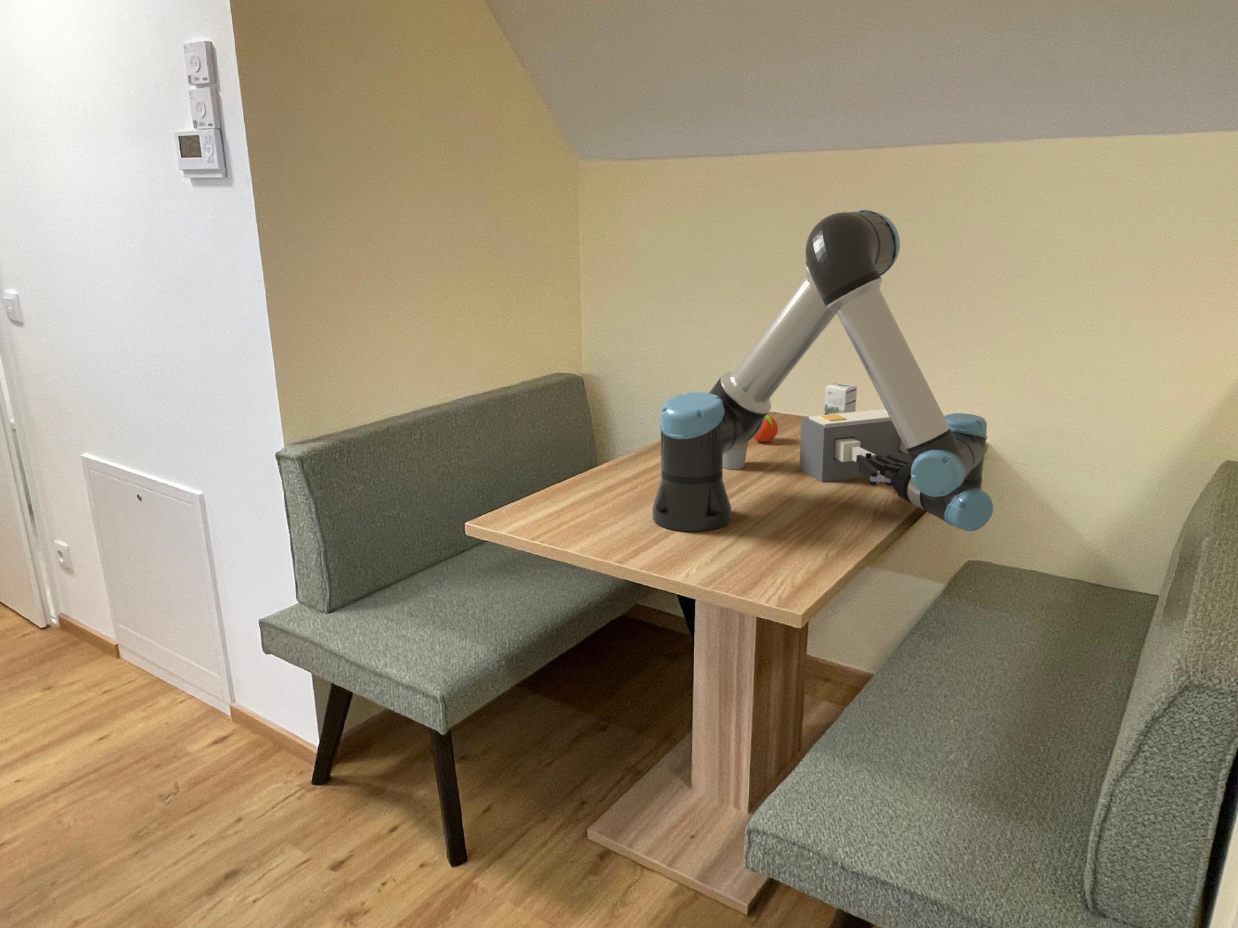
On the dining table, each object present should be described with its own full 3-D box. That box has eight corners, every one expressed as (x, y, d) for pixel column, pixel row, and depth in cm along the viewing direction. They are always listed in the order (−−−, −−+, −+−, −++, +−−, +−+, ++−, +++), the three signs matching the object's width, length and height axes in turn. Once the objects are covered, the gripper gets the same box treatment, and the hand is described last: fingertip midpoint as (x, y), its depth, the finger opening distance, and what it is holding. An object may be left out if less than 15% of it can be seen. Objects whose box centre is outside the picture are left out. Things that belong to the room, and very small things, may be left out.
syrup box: (854, 442, 218) (858, 384, 214) (842, 447, 214) (845, 389, 210) (834, 438, 222) (837, 382, 218) (822, 443, 218) (824, 386, 214)
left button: (859, 460, 187) (860, 441, 186) (842, 462, 186) (843, 443, 185) (845, 453, 192) (846, 435, 191) (829, 455, 191) (830, 437, 190)
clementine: (784, 444, 218) (785, 416, 216) (759, 448, 215) (760, 419, 213) (769, 437, 225) (769, 409, 223) (744, 440, 223) (745, 412, 221)
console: (925, 468, 196) (930, 413, 193) (821, 482, 189) (824, 424, 186) (899, 456, 206) (903, 403, 202) (799, 469, 198) (801, 414, 195)
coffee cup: (751, 460, 206) (752, 397, 202) (753, 472, 197) (754, 406, 193) (710, 459, 207) (711, 397, 203) (710, 471, 198) (711, 406, 194)
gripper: (890, 509, 163) (826, 473, 185) (951, 501, 166) (881, 466, 188) (893, 471, 161) (828, 438, 182) (954, 463, 164) (883, 432, 186)
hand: (855, 453), depth 185 cm, fingers closed
